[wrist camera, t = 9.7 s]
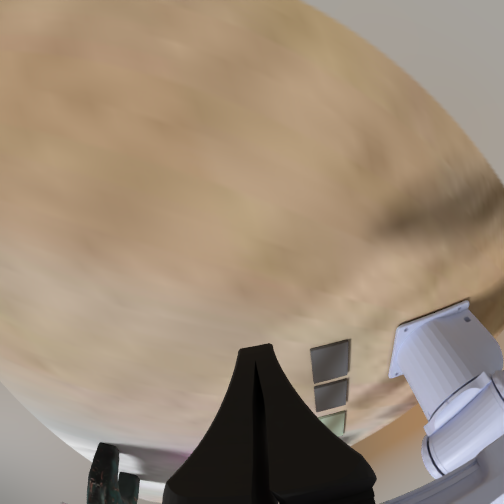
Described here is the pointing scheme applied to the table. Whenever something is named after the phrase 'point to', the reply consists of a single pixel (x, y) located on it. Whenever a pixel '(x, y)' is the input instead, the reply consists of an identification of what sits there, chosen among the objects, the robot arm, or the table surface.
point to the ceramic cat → (110, 479)
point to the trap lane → (332, 394)
